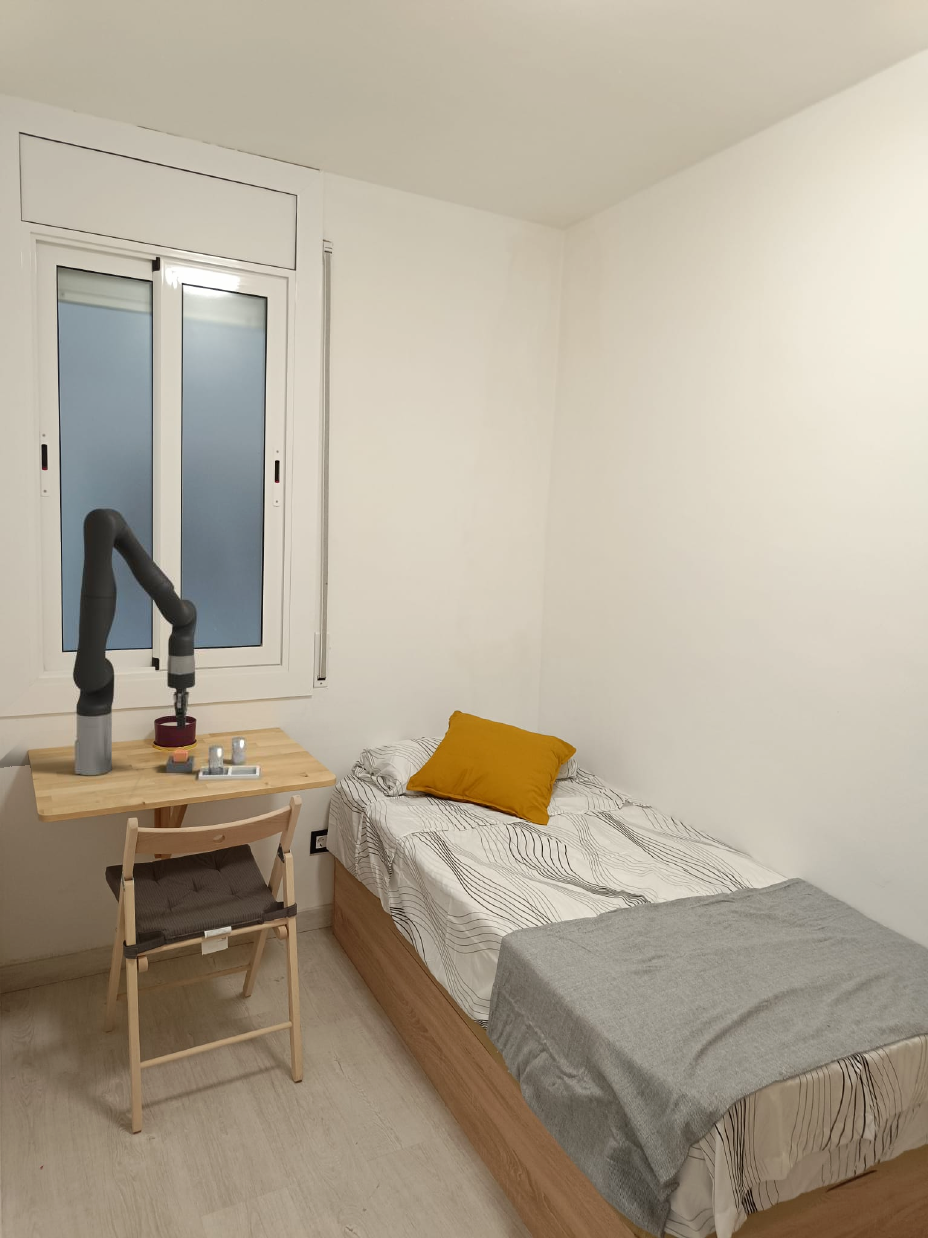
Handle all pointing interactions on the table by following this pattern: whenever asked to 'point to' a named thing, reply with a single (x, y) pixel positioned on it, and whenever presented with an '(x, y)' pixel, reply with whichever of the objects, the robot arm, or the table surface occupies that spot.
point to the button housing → (180, 765)
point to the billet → (238, 750)
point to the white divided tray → (232, 773)
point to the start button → (180, 755)
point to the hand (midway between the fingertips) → (181, 729)
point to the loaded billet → (215, 760)
